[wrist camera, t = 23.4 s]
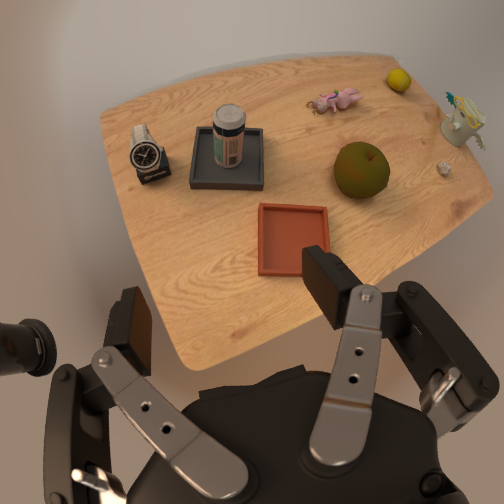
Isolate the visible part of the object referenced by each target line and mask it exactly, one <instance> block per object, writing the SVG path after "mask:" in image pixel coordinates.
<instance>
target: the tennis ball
mask: <svg viewBox="0 0 504 504" xmlns="http://www.w3.org/2000/svg"><path fill="white" fill-rule="evenodd" d="M387 81H388V84H389V85H390V86H391V87H392V88H393V89H394V90H396V91H406V90H407V89H408V88H409V87H410V85H411V79H410V76H409V75H408V74H407V73H406V72H405V71H404V70H402V69H399V68H395V69H392V70H391V71H390V72H389V73H388V75H387Z"/></svg>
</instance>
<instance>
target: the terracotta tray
mask: <svg viewBox="0 0 504 504" xmlns="http://www.w3.org/2000/svg"><path fill="white" fill-rule="evenodd" d="M313 245H319V246H320V248H321V249H322V250H323V251H324V252H325V253H327V252H330V241H329V228H328V216H327V207H318V206H304V205H289V204H271V203H260V204H259V207H258V276H302V248H305V247H309V246H313Z"/></svg>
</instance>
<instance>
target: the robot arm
mask: <svg viewBox="0 0 504 504" xmlns="http://www.w3.org/2000/svg"><path fill="white" fill-rule="evenodd" d="M302 277H303V281H304V284H305V286H306V287H307V289H308V290H309V292H310V293H311V295H312V296H313V298H314V300H315V301H316V303H317V304H318V306H319V307H320V309H321V310H322V312H323V313H324V315H325V317H326V318H327V320H328V321H329V323H330V324H331V326H332V328H333V329H334V330H336V329H340V328H343V330H342V334H341V339H340V343H339V347H338V351H337V355H336V358H335V362H334V366H333V370H332V373H327V372H323V371H306V370H305V367H304V365H303V364H302V365H299V366H296V367H293V368H290V369H287V370H283V371H280V372H277V373H276V374H274V375H272V376H270V377H268V378H266V379H264V380H263V381H261V382H259V383H257V384H255V385H249V386H222V387H217V388H213V389H208V390H203V391H199V397H200V399H198V400H196V401H194V402H192V403H191V404H189V405H188V406H187V407H186V408H185V409H183V410H182V411H181V412H180V411H179V410H177V409H176V408H175V407H174V406H173V405H172V404H171V403H170V402H169V401H168V400H167V399H165V398H164V397H163V396H162V395H161V394H160V393H159V392H158V391H157V390H156V389H155V388H154V387H153V386H152V385H151V384H150V383H149V382H148V381H147V380H146V379H145V378H144V377H146V376H151V338H152V316H151V312H150V310H149V308H148V305H147V303H146V301H145V299H144V297H143V294H142V292H141V290H140V288H139V287H138V286H136V287H132V288H127V289H124V290H123V292H122V296H121V301H116V303H115V304H114V305H113V307H112V308H111V311H110V315H109V319H108V326H107V329H106V334H105V339H104V344H103V348H101V349H100V350H98V351H97V352H96V353H95V354H94V356H93V358H92V362H91V364H89V365H87V366H85V367H83V368H81V369H78V370H77V369H76V368H75V367H74V366H73V365H71V364H64V365H62V366H60V367H59V368H58V369H57V370H56V371H55V372H54V374H53V377H52V382H51V388H50V394H49V401H48V408H47V416H46V425H45V438H44V457H43V481H44V498H45V503H46V504H469V502H468V500H467V498H466V496H465V495H464V493H463V492H462V491H461V490H460V489H459V488H458V487H457V486H456V485H455V484H454V483H453V482H451V481H450V480H449V478H448V477H447V476H446V475H445V474H444V473H443V471H442V469H441V467H440V463H439V460H438V451H437V440H438V439H439V438H441V437H442V436H444V435H445V434H447V433H448V432H455V431H458V430H459V429H461V428H462V427H463V426H464V425H465V424H467V423H468V422H469V421H470V420H471V419H472V418H474V417H475V416H476V415H477V414H478V413H479V412H480V411H481V410H482V409H483V408H484V407H485V406H487V405H488V403H490V402H491V401H492V400H493V399H494V398H495V397H496V395H497V394H498V391H499V380H498V377H497V375H496V374H495V373H494V371H493V370H492V369H491V367H490V366H489V364H488V363H487V362H486V360H485V359H484V358H483V356H482V355H481V354H480V352H479V351H478V350H477V348H476V347H475V346H474V345H473V343H472V342H471V341H470V340H469V338H468V337H467V336H466V335H465V333H464V332H463V331H462V330H461V329H460V327H459V326H458V325H457V324H456V323H455V322H454V320H453V319H452V318H451V317H450V316H449V315H448V313H447V312H446V311H445V310H444V309H443V308H442V307H441V305H440V304H439V303H438V302H437V301H436V300H435V299H434V298H433V297H432V296H431V295H430V294H429V292H428V291H427V290H426V289H425V288H424V287H423V286H422V285H420V284H419V283H417V282H413V281H405V282H402V283H401V284H400V285H399V287H398V290H397V292H385V293H381V291H380V290H379V289H378V288H376V287H375V286H372V285H368V284H363V283H362V282H361V281H360V280H359V279H358V278H357V277H356V275H355V274H354V273H353V272H352V271H351V270H350V269H349V268H348V267H347V266H346V265H345V263H343V261H342V260H341V259H340V258H339V257H338V256H336V255H334V254H332V253H330V252H327V253H325V252H324V251H323V250H322V249H321V248H320V246H319V245H313V246H309V247H305V248H302ZM415 326H416V327H417V329H418V330H419V331H420V333H421V334H422V335H421V334H420V333H419V331H418V330H417V329H416V327H415ZM383 338H388V339H389V341H390V342H391V344H392V345H393V347H394V348H395V350H396V351H397V353H398V354H399V356H400V357H401V359H402V361H403V362H404V363H405V365H406V367H407V368H408V370H409V372H410V373H411V374H412V376H413V378H414V380H415V381H416V383H417V384H418V386H419V388H420V389H421V393H420V397H419V401H420V405H421V410H422V412H421V411H419V410H417V409H415V408H412V407H409V406H407V405H404V404H401V403H399V402H397V401H394V400H392V399H389V398H387V397H384V396H382V395H379V394H377V393H375V392H374V390H375V384H376V377H377V371H378V364H379V357H380V348H381V339H383ZM46 356H47V351H46V345H45V341H44V339H43V336H42V335H41V333H40V332H39V330H38V329H37V328H35V327H34V326H32V325H18V324H4V323H0V376H5V375H12V374H18V373H24V372H30V371H38V370H40V369H42V368H43V366H44V364H45V362H46ZM114 406H118V407H119V408H120V410H121V411H122V412H123V414H124V415H125V416H126V417H127V419H128V420H129V421H130V422H131V423H132V424H133V426H134V427H135V428H136V429H137V430H138V432H139V433H140V434H141V435H142V436H143V437H144V438H145V439H146V440H147V442H148V443H149V444H150V445H151V446H152V447H153V448H154V449H155V452H154V453H153V455H152V456H151V458H150V459H149V461H148V462H147V464H146V465H145V467H144V469H143V470H142V471H141V473H140V474H139V476H138V478H137V479H136V480H135V482H134V483H133V485H132V486H131V488H130V490H129V492H128V494H127V495H126V493H125V492H124V490H123V486H122V484H121V482H120V480H119V479H118V478H117V477H116V476H115V475H113V474H112V470H111V458H110V442H109V408H112V407H114Z"/></svg>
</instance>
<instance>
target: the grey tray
mask: <svg viewBox="0 0 504 504" xmlns="http://www.w3.org/2000/svg"><path fill="white" fill-rule="evenodd" d="M189 184H190V188H191V189H228V190H254V191H262V189H263V186H264V164H263V129H259V128H244V138H243V148H242V160H241V162H240V163H239V164H238V165H237V166H235V167H232V168H224V167H222V166H220V165H218V164H217V162H216V161H215V153H214V133H213V127H197V129H196V136H195V142H194V149H193V156H192V164H191V171H190V179H189Z"/></svg>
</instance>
